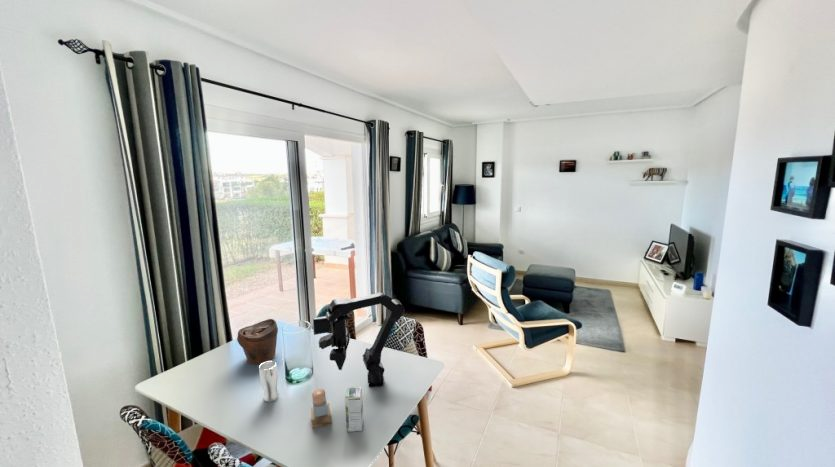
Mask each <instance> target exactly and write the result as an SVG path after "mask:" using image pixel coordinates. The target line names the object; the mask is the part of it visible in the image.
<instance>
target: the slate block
mask: <svg viewBox="0 0 835 467" xmlns="http://www.w3.org/2000/svg"><path fill="white" fill-rule="evenodd" d="M327 400H328V399H327V398H326V403H325V404H324V405H322V406H319V407H316V406H314V405H313V404H312V405H313V406H312V407H313V408H314V418H316V417H320V416H324V415H328V407H327V404H328V401H327Z"/></svg>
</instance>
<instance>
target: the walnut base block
mask: <svg viewBox="0 0 835 467" xmlns="http://www.w3.org/2000/svg"><path fill="white" fill-rule="evenodd" d="M327 407H328V415H324V416H320V417H316V418H314V408H313V406H312V407H310V416H311V427H312V429H316V428H320V427H325V426H327V425H331V424H333V423H332V413H331V412H332V411H331V406H330V403H328V402H327Z"/></svg>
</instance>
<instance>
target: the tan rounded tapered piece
mask: <svg viewBox="0 0 835 467" xmlns="http://www.w3.org/2000/svg"><path fill="white" fill-rule="evenodd" d="M311 399H312V405H314V406H316V407H319V406H322V405H324V404H325V403H326V399H327V395H326V390H325V389H323V388H318V389H315V390H313V392H312V393H311Z"/></svg>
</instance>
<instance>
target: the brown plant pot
mask: <svg viewBox="0 0 835 467" xmlns="http://www.w3.org/2000/svg"><path fill="white" fill-rule="evenodd" d="M278 330H279V328H278V325H277V321H276V320H275V319H273V318H268V319H265V320H262V321H260V322H258V323H255V324H253V325H248V326H244V327H242V328H240V329H239V330H238V331H237V336H236V341H237V343H238V344H239V346H240V347H241V348H242V350H243V352H244V355H245V358H246V360H247V363H249V364H254V365H257V364H258V365H259V364H262V363H264V362H267V361H271V359H273V358H274V357H275V355H276V350H277V340H278V339H277V338H278Z"/></svg>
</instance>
